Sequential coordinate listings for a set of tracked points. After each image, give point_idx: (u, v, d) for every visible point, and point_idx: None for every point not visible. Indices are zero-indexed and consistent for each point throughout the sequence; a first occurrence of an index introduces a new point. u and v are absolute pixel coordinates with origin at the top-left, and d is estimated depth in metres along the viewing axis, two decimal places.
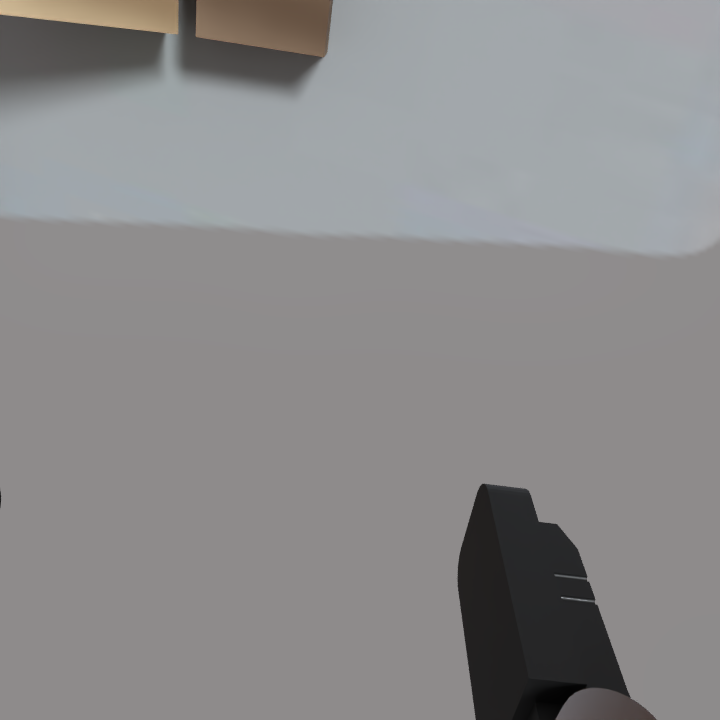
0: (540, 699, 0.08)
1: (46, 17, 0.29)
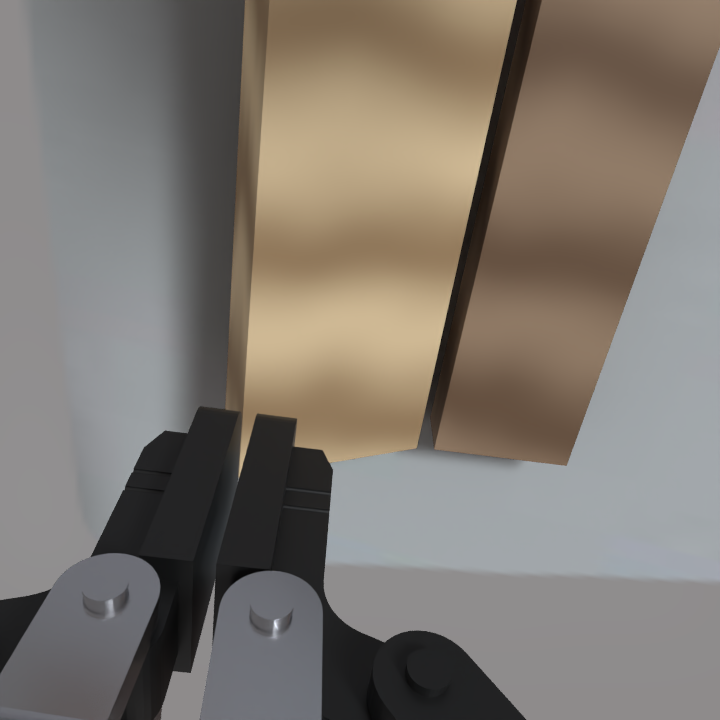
0: (232, 585, 0.09)
1: None
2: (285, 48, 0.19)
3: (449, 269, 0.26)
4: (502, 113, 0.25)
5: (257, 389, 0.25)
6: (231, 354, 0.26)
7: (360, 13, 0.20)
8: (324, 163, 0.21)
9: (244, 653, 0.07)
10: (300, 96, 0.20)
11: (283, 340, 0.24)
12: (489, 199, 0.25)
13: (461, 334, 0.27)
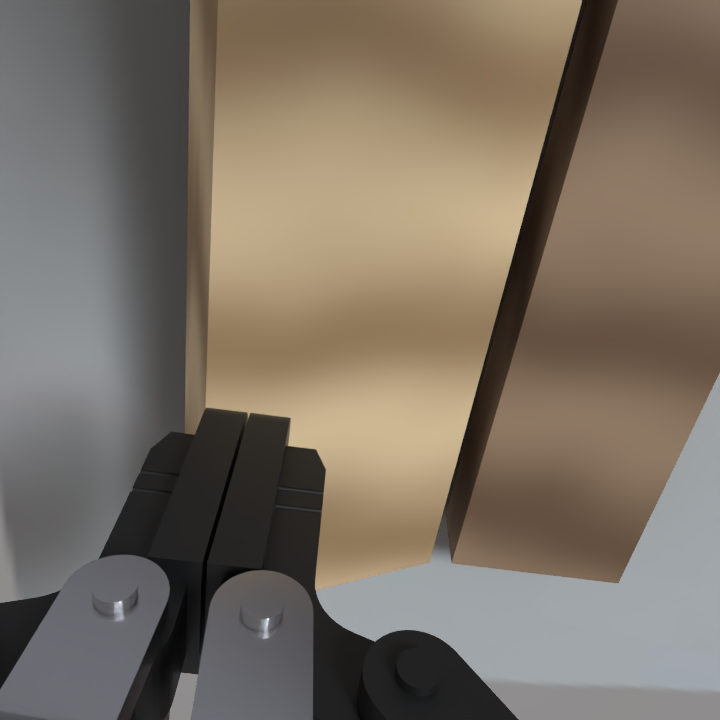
0: None
1: None
2: (245, 66, 0.13)
3: (477, 353, 0.19)
4: (551, 146, 0.19)
5: None
6: None
7: (358, 14, 0.13)
8: (307, 227, 0.15)
9: (234, 652, 0.07)
10: (270, 136, 0.14)
11: None
12: (532, 261, 0.19)
13: (490, 430, 0.21)
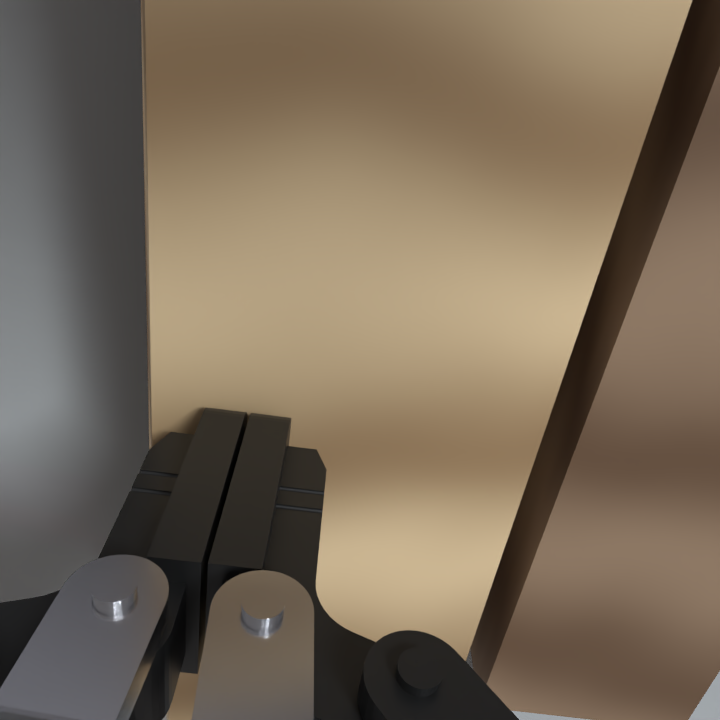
0: None
1: None
2: (189, 117, 0.09)
3: (517, 474, 0.15)
4: None
5: None
6: None
7: (354, 46, 0.09)
8: (284, 324, 0.11)
9: (234, 652, 0.07)
10: (229, 209, 0.10)
11: None
12: (591, 360, 0.15)
13: (531, 562, 0.17)
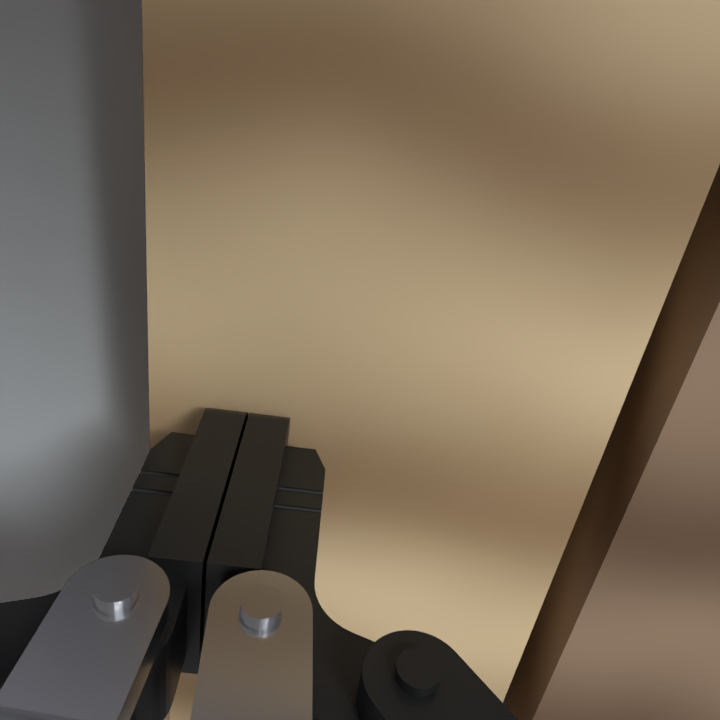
0: None
1: None
2: (184, 112, 0.09)
3: (548, 546, 0.13)
4: None
5: None
6: None
7: (350, 50, 0.09)
8: (279, 332, 0.11)
9: (233, 652, 0.07)
10: (223, 207, 0.10)
11: None
12: (638, 426, 0.13)
13: (563, 645, 0.15)
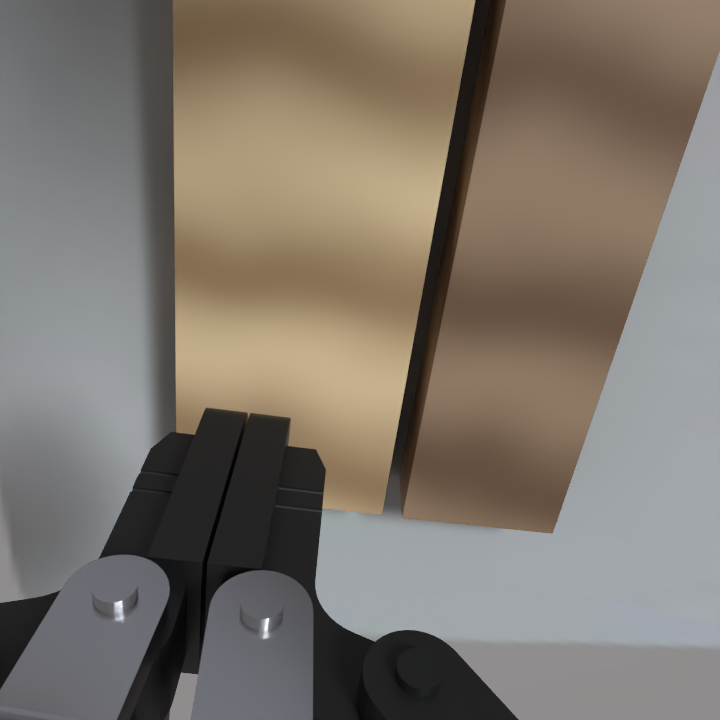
0: None
1: None
2: (193, 57, 0.19)
3: (408, 317, 0.23)
4: (466, 141, 0.22)
5: (189, 405, 0.24)
6: None
7: (274, 24, 0.18)
8: (245, 180, 0.20)
9: (234, 652, 0.07)
10: (213, 108, 0.19)
11: (214, 359, 0.23)
12: (453, 240, 0.22)
13: (427, 392, 0.24)
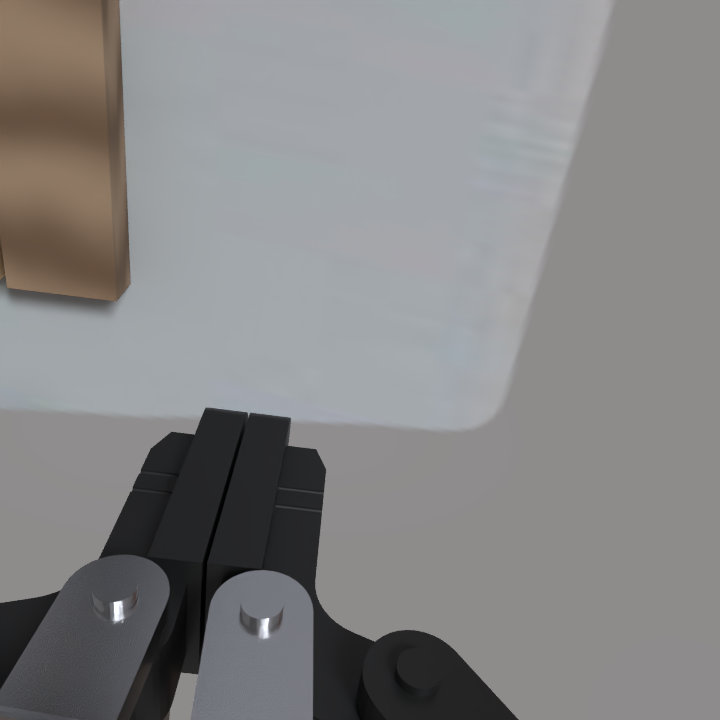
0: (223, 584, 0.09)
1: None
2: None
3: None
4: None
5: None
6: None
7: None
8: None
9: (234, 652, 0.07)
10: None
11: None
12: None
13: None
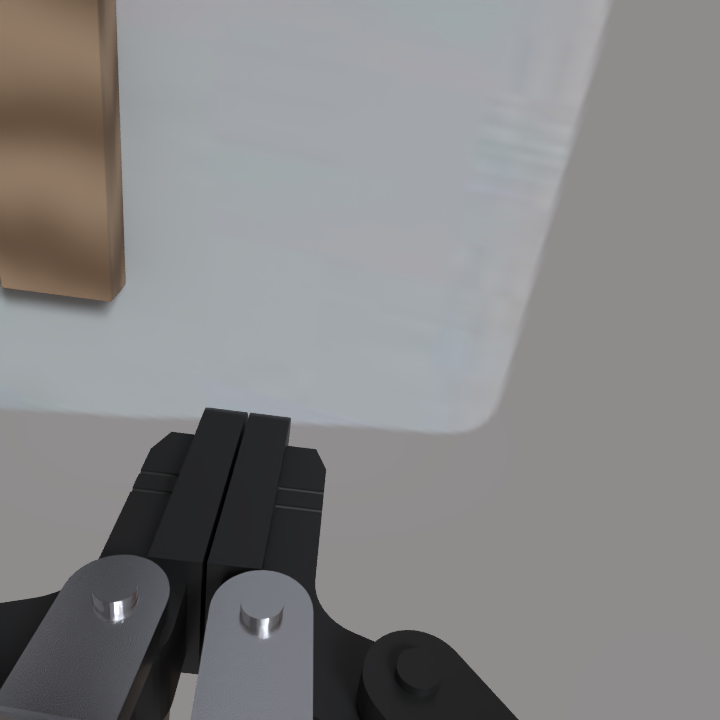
0: None
1: None
2: None
3: None
4: None
5: None
6: None
7: None
8: None
9: (234, 653, 0.07)
10: None
11: None
12: None
13: None
